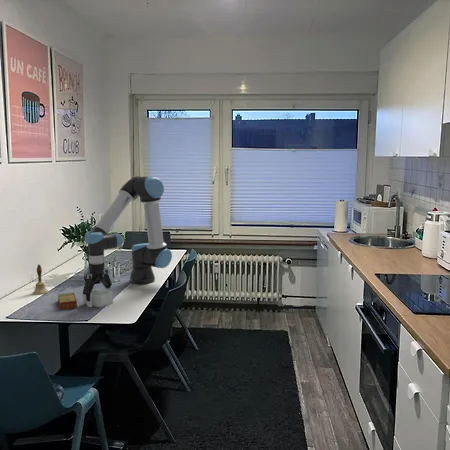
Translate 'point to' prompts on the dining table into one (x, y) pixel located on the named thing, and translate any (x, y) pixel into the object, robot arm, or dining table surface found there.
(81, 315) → the dining table surface
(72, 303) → the carton
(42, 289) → the hand bell
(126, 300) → the dining table surface
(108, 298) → the crate
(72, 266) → the dining table surface
